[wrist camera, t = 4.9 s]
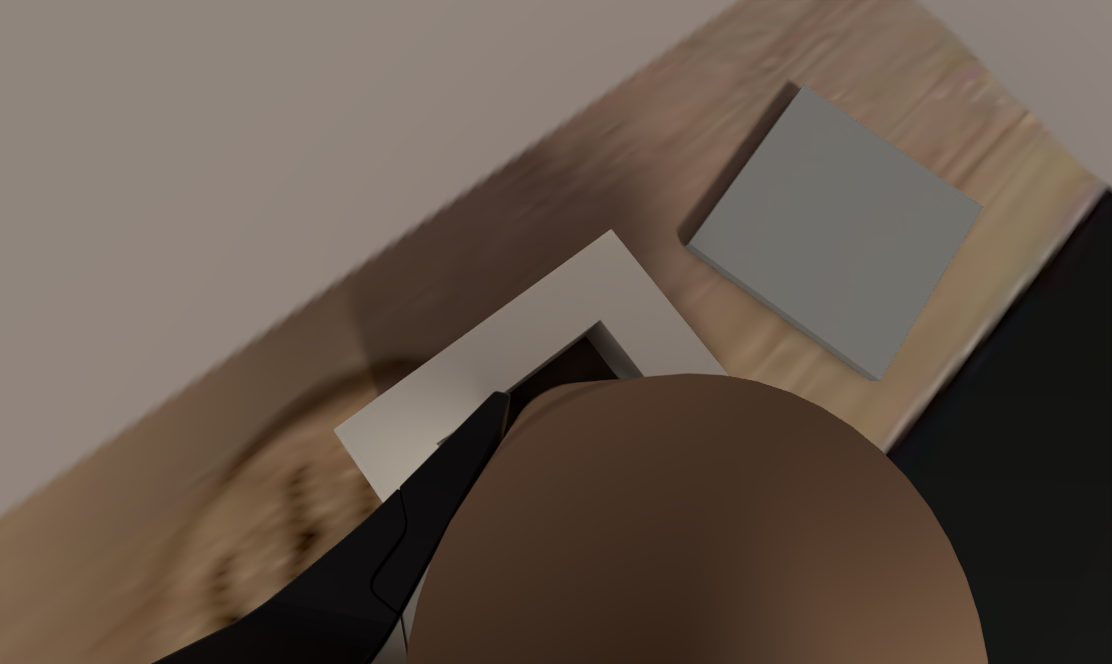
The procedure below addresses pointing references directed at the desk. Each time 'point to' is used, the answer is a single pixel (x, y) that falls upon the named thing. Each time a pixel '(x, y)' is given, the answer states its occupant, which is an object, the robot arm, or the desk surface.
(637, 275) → the frame
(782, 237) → the pad
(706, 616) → the peg
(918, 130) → the desk surface
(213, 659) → the robot arm
